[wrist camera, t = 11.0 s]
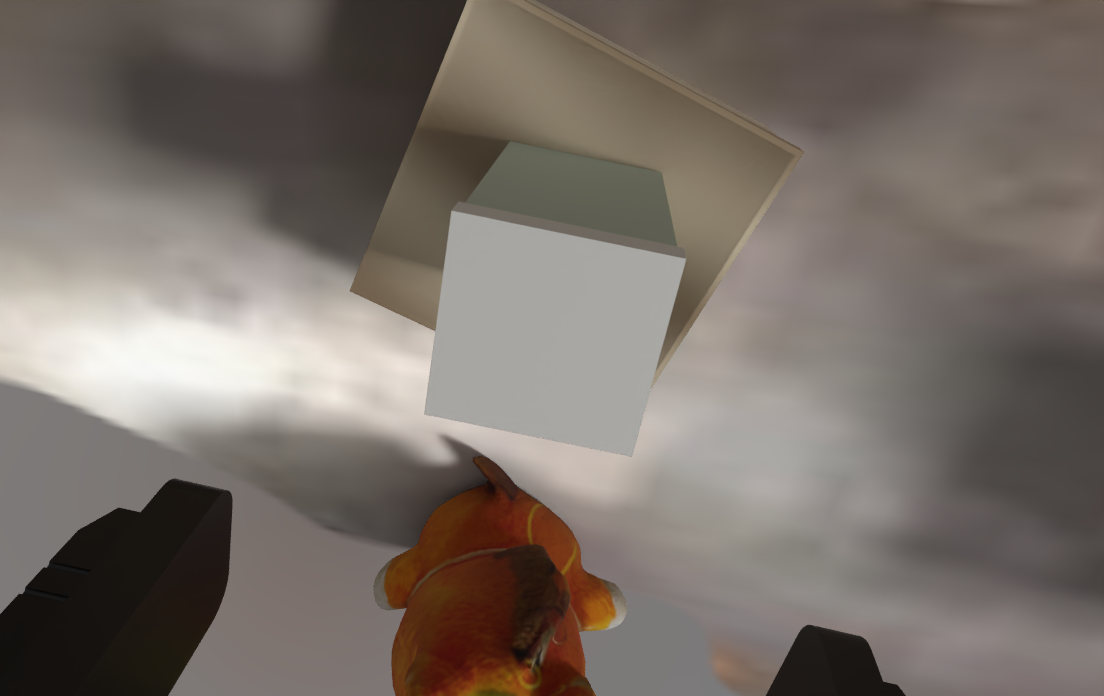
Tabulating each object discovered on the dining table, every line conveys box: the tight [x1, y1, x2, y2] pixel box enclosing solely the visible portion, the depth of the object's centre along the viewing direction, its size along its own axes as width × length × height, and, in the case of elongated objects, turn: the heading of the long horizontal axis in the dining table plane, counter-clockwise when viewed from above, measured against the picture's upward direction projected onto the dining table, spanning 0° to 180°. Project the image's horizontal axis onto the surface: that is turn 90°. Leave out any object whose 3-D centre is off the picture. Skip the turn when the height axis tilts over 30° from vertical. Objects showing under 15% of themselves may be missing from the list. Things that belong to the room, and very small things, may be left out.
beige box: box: [350, 0, 804, 390], centre depth 29 cm, size 11×11×5 cm
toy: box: [374, 456, 627, 696], centre depth 31 cm, size 11×9×15 cm
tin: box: [424, 141, 686, 457], centre depth 22 cm, size 5×5×9 cm
